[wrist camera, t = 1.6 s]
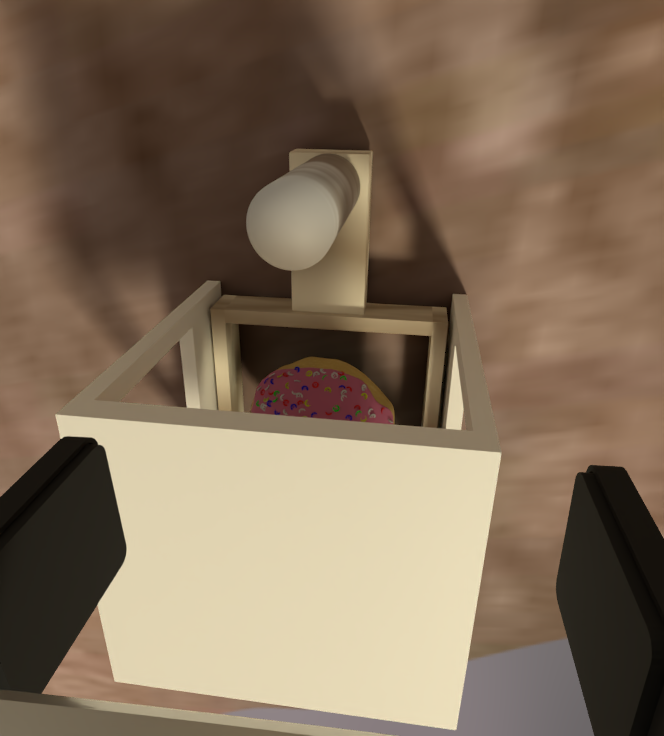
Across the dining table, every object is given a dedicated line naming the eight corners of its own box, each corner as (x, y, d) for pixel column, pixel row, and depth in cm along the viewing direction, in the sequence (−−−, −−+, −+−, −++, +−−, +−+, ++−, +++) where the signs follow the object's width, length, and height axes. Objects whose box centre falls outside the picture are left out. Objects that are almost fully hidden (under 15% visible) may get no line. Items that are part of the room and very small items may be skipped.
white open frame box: (207, 280, 35) (55, 414, 20) (466, 294, 33) (501, 452, 19) (223, 472, 41) (114, 681, 27) (443, 493, 39) (455, 730, 25)
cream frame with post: (213, 146, 31) (109, 173, 21) (462, 152, 30) (483, 186, 19) (236, 469, 40) (171, 600, 30) (428, 487, 39) (430, 632, 28)
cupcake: (247, 349, 37) (174, 456, 26) (376, 314, 34) (355, 415, 24) (293, 460, 40) (246, 597, 29) (415, 435, 38) (412, 573, 27)
